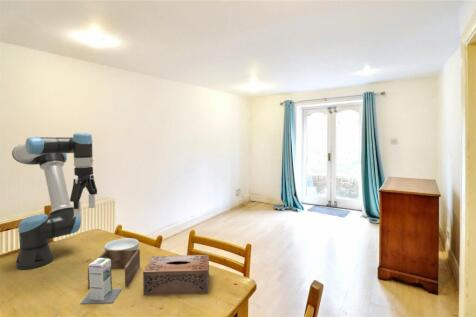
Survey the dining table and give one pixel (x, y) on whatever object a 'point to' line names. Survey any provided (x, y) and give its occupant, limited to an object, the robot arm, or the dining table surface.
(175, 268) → the tissue box cover
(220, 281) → the dining table surface
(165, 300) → the dining table surface
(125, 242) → the cereal bowl
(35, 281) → the dining table surface
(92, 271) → the syrup box
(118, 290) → the grey mat
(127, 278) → the open-sided crate
